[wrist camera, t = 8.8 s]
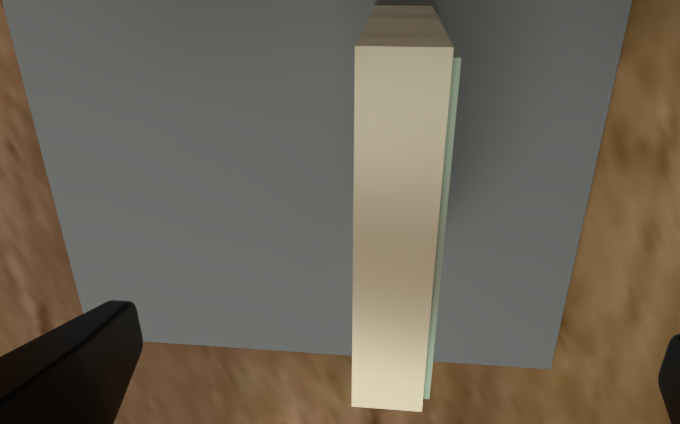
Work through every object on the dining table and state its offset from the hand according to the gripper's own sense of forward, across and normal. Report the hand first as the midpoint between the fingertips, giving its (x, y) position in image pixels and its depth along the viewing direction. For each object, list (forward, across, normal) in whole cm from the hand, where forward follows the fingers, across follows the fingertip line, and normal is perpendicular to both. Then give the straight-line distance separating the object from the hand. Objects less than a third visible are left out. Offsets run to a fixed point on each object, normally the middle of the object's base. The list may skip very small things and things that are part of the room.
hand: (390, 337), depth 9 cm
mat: (+9, +3, 0) cm, 10 cm away
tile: (+9, 0, 0) cm, 9 cm away
